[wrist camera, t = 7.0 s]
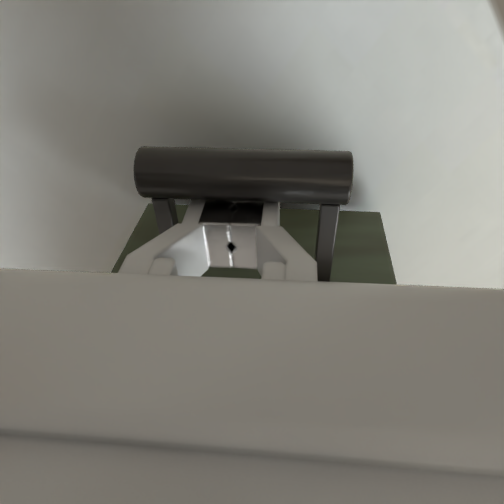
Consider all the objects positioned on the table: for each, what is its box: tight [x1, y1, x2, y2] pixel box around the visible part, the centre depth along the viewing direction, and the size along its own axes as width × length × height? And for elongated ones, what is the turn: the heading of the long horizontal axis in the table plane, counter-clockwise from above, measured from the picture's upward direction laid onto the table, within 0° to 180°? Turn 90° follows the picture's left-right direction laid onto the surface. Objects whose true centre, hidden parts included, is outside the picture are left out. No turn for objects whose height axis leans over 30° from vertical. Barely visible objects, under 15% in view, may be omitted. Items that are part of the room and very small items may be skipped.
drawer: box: [111, 146, 397, 285], centre depth 19 cm, size 19×11×8 cm, turn 2°
